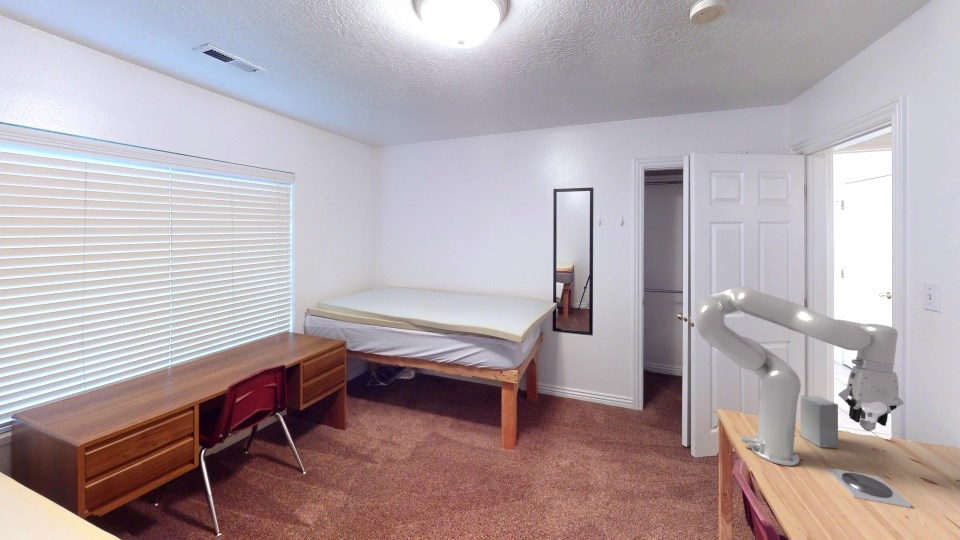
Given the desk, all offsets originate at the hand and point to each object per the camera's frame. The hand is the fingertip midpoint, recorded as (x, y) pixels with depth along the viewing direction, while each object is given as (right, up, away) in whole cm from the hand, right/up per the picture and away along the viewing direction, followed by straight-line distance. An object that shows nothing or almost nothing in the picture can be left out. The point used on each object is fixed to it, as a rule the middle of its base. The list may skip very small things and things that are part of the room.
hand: (867, 421), depth 108 cm
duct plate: (-6, -18, -5) cm, 19 cm away
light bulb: (0, -3, 0) cm, 3 cm away
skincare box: (+3, -16, +19) cm, 25 cm away
